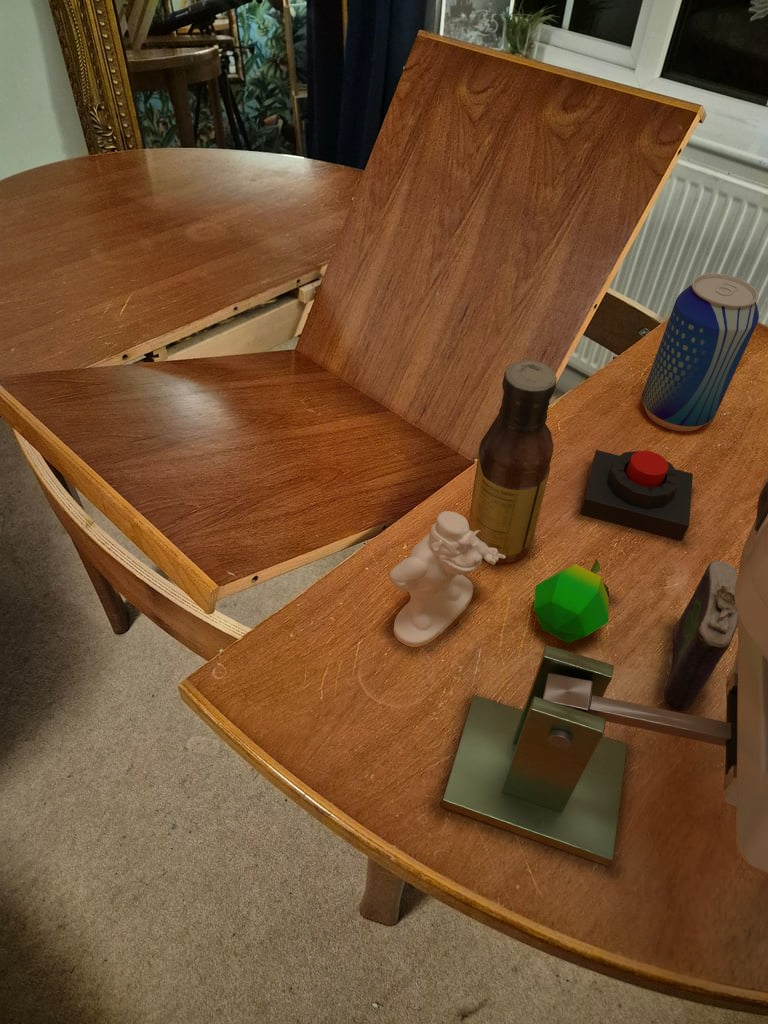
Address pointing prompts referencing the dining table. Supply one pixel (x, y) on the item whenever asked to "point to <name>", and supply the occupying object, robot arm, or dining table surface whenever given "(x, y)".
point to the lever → (647, 714)
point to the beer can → (700, 351)
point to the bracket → (543, 765)
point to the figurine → (438, 578)
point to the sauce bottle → (514, 462)
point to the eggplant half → (701, 635)
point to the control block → (637, 497)
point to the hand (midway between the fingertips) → (738, 741)
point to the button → (647, 468)
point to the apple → (572, 603)
